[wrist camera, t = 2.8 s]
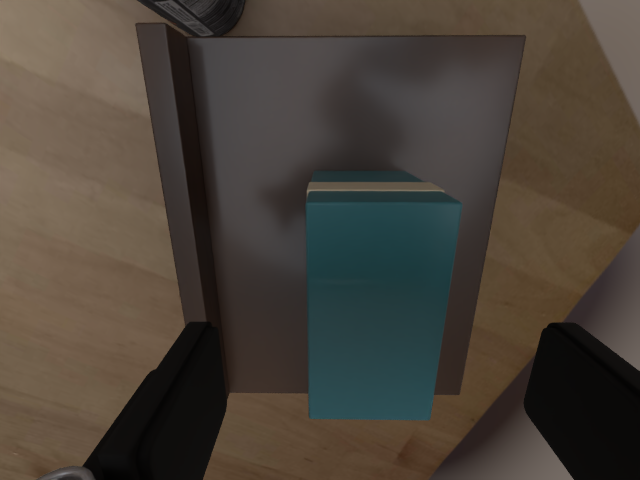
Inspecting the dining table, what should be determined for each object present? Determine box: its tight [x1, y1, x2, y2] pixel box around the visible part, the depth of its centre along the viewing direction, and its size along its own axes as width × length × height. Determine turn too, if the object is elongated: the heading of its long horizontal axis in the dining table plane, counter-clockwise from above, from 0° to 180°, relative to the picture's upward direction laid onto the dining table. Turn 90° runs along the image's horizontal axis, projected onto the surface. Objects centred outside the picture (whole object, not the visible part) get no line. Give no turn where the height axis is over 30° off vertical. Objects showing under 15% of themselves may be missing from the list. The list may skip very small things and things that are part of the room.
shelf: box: [136, 23, 526, 399], centre depth 21 cm, size 16×20×12 cm
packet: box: [305, 171, 462, 420], centre depth 14 cm, size 5×8×7 cm, turn 0°
